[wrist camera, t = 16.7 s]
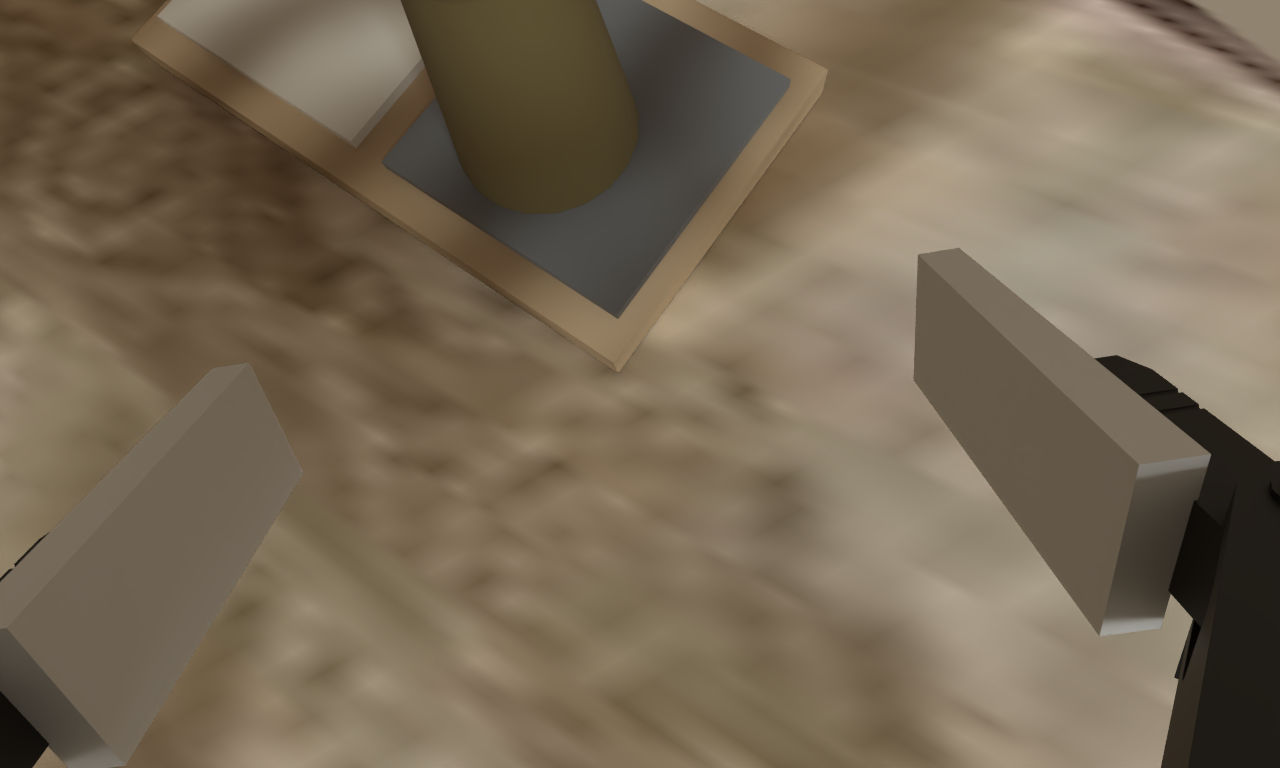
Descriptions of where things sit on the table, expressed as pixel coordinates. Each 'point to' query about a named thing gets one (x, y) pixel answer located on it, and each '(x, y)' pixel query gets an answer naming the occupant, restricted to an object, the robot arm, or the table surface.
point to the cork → (529, 97)
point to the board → (433, 176)
